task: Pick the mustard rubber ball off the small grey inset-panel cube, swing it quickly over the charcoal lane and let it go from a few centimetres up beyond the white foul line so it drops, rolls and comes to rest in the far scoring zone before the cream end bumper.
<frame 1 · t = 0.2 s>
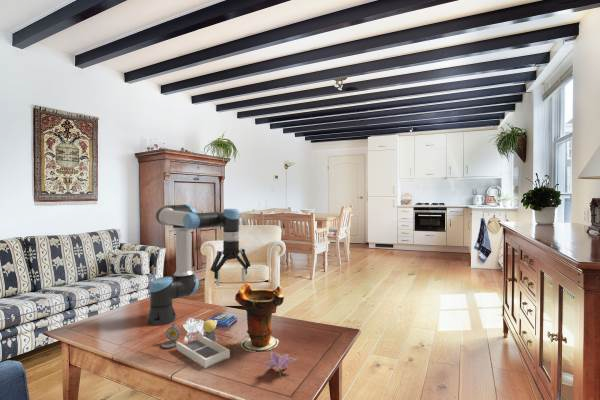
hand: (231, 283, 164), 27 cm above the table, fingers open, 13 cm apart
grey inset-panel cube: (209, 339, 163), on the table
lily: (279, 373, 133), on the table
decorative vase: (259, 343, 159), on the table
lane: (202, 353, 149), on the table
pocket watch: (171, 345, 158), on the table
ball: (209, 332, 163), point 4 cm above the table, touching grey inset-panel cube
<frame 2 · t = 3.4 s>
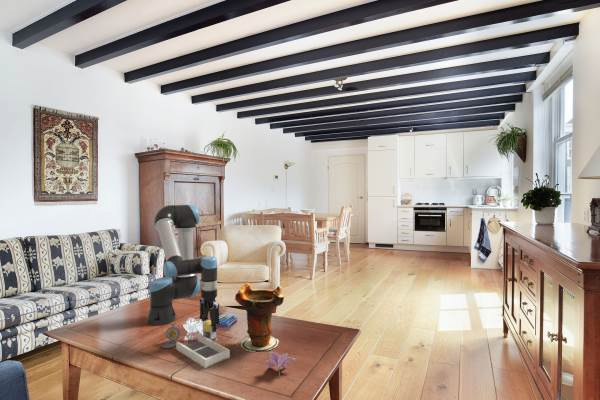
hand: (209, 336, 163), 2 cm above the table, fingers closed on ball, 6 cm apart
ball: (209, 332, 163), point 4 cm above the table, touching gripper, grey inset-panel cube
when the fingers open (4 cm above the table, at t = 7.0 s): ball drops 5 cm, resting on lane.
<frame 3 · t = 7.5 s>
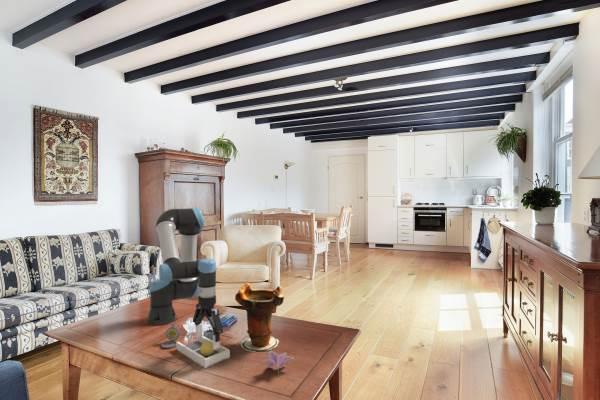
hand: (207, 343, 146), 6 cm above the table, fingers open, 13 cm apart
ball: (207, 355, 146), point 1 cm above the table, touching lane
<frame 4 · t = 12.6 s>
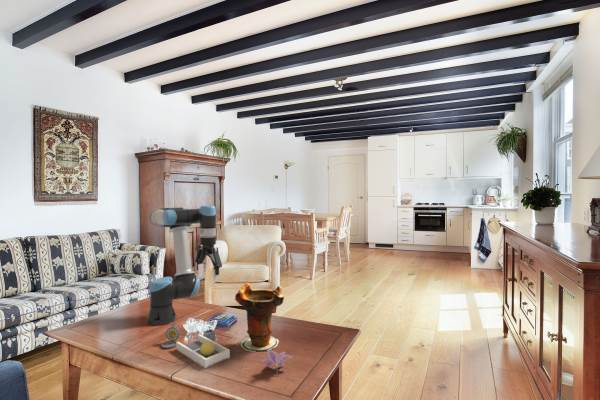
hand: (208, 279, 166), 29 cm above the table, fingers open, 13 cm apart
at the end: ball inside the target area (0.0 cm from its centre), point 0.6 cm above the table; the gripper is holding nothing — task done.
